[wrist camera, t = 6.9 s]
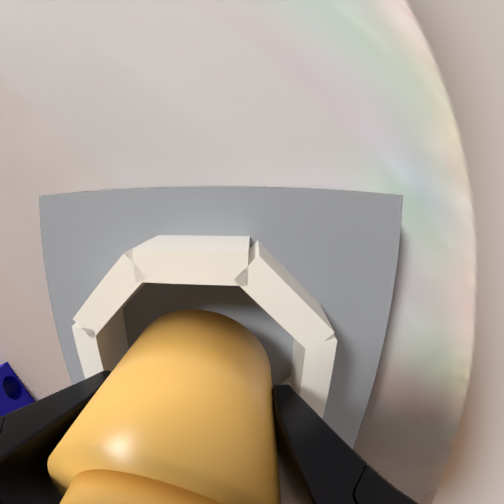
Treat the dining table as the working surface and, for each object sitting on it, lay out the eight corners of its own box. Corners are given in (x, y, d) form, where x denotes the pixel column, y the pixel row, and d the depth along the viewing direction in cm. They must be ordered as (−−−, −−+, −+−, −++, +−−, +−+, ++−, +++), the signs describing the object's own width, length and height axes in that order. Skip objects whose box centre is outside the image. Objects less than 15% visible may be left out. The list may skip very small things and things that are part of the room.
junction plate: (325, 478, 14) (335, 529, 10) (128, 466, 14) (109, 513, 10) (378, 193, 10) (438, 199, 6) (68, 193, 10) (1, 200, 6)
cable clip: (-15, 372, 13) (-63, 415, 7) (8, 360, 13) (-49, 411, 7) (85, 487, 15) (62, 538, 9) (122, 488, 15) (99, 548, 9)
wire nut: (268, 424, 8) (276, 589, 3) (146, 416, 8) (84, 557, 3) (272, 309, 8) (301, 518, 2) (125, 305, 8) (-16, 442, 2)
